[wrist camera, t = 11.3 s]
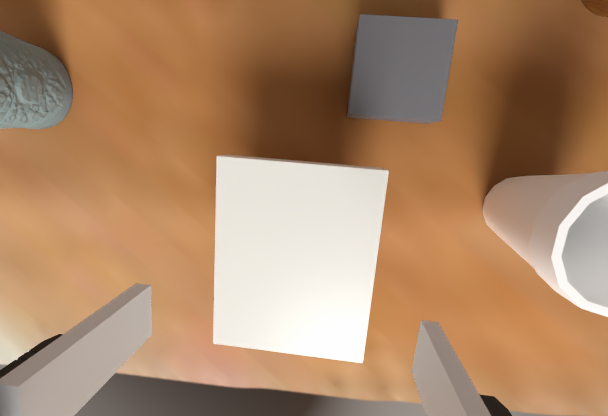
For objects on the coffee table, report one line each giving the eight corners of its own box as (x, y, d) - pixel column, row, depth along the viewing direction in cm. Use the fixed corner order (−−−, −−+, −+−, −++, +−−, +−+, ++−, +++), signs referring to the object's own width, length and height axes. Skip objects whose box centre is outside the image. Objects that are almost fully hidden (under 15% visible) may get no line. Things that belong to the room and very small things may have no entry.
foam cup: (476, 156, 31) (574, 165, 19) (574, 164, 31) (744, 179, 18) (459, 246, 33) (537, 310, 21) (551, 255, 33) (690, 327, 20)
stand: (441, 36, 29) (458, 19, 26) (427, 123, 31) (440, 120, 27) (356, 30, 30) (359, 14, 26) (346, 117, 32) (348, 113, 28)
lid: (383, 167, 24) (388, 170, 21) (360, 343, 27) (362, 363, 24) (228, 154, 24) (216, 156, 22) (223, 325, 28) (213, 343, 25)
